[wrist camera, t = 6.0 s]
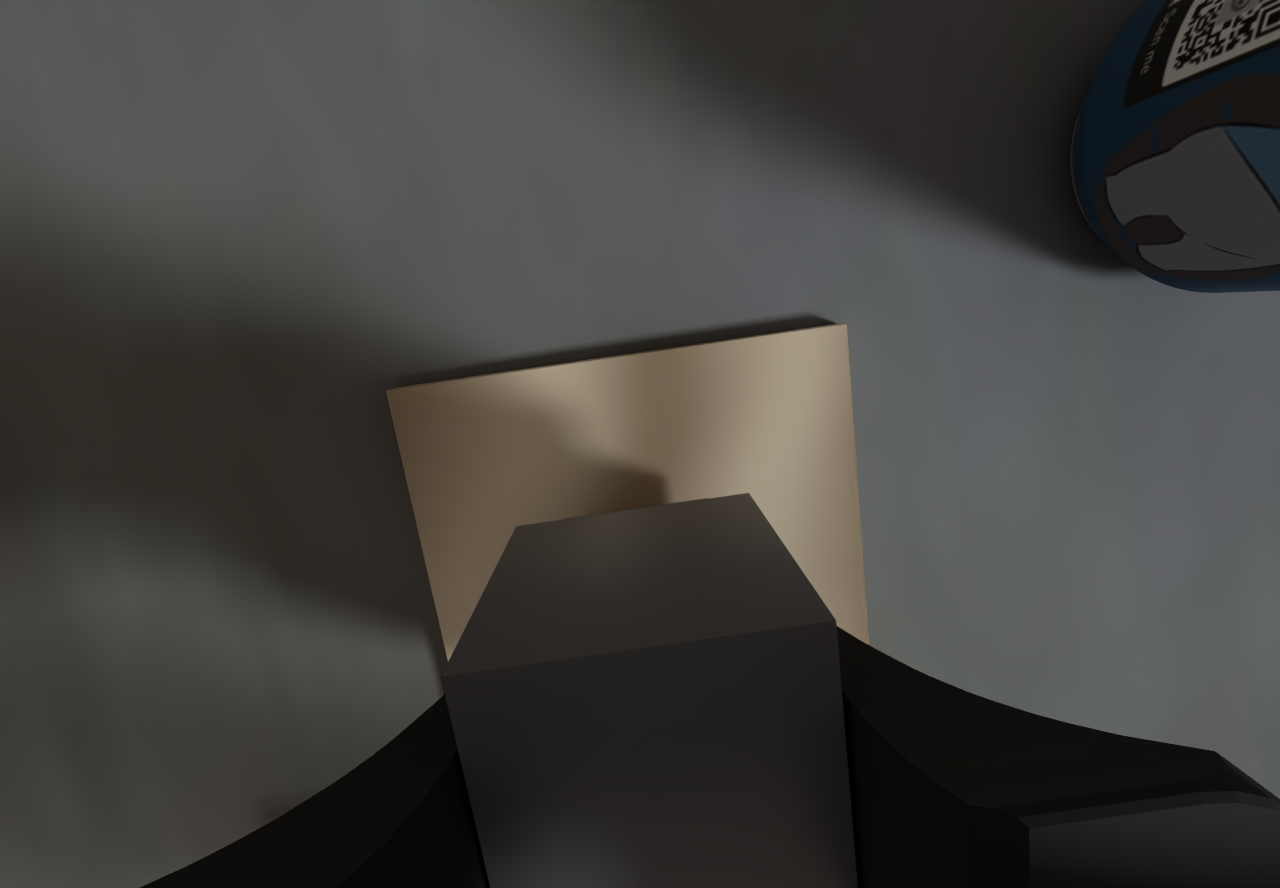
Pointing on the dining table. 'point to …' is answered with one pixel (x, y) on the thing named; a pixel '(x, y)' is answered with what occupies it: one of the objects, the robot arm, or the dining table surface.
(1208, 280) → the soda can
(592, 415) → the pad
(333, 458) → the dining table surface
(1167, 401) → the dining table surface
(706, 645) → the block
